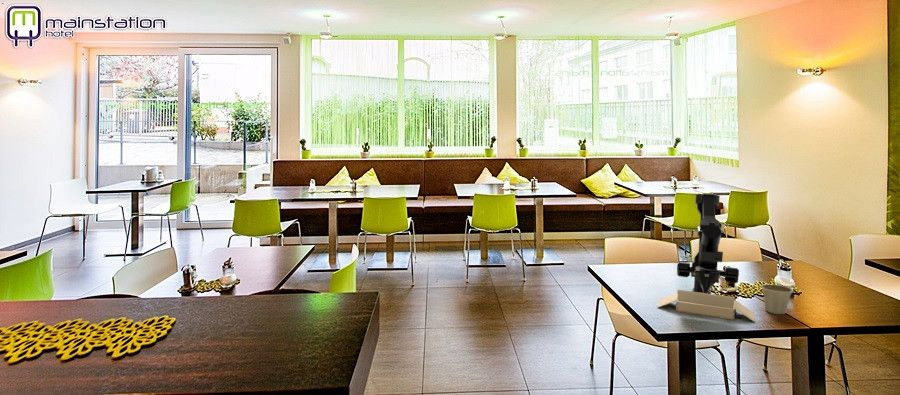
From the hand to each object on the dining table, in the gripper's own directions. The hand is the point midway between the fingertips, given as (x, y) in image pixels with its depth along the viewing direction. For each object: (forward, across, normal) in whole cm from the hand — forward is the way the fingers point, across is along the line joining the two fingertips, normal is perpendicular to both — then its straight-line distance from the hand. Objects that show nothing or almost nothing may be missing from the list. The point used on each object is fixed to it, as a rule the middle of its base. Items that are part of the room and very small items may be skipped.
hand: (705, 294), depth 174 cm
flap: (0, 0, +7) cm, 7 cm away
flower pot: (-8, +22, +22) cm, 32 cm away
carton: (-2, 0, +16) cm, 16 cm away
